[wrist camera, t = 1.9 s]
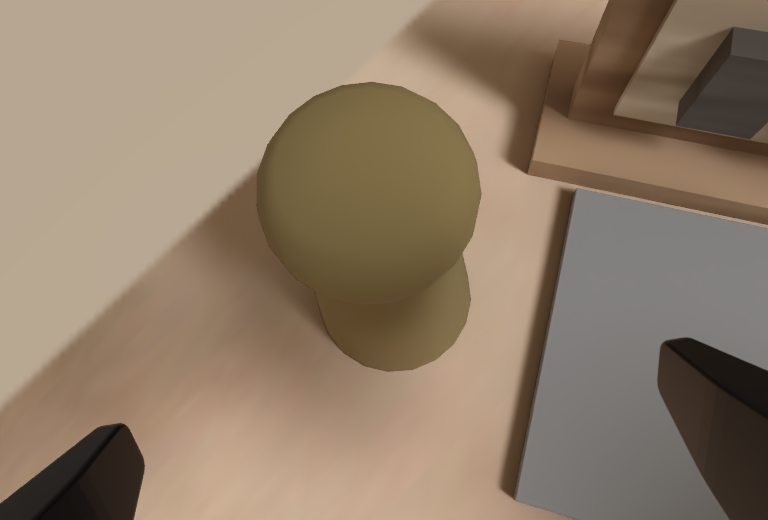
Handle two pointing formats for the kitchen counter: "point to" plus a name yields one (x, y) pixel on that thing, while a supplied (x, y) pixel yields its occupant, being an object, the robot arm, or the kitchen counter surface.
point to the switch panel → (664, 106)
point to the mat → (635, 356)
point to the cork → (375, 219)
